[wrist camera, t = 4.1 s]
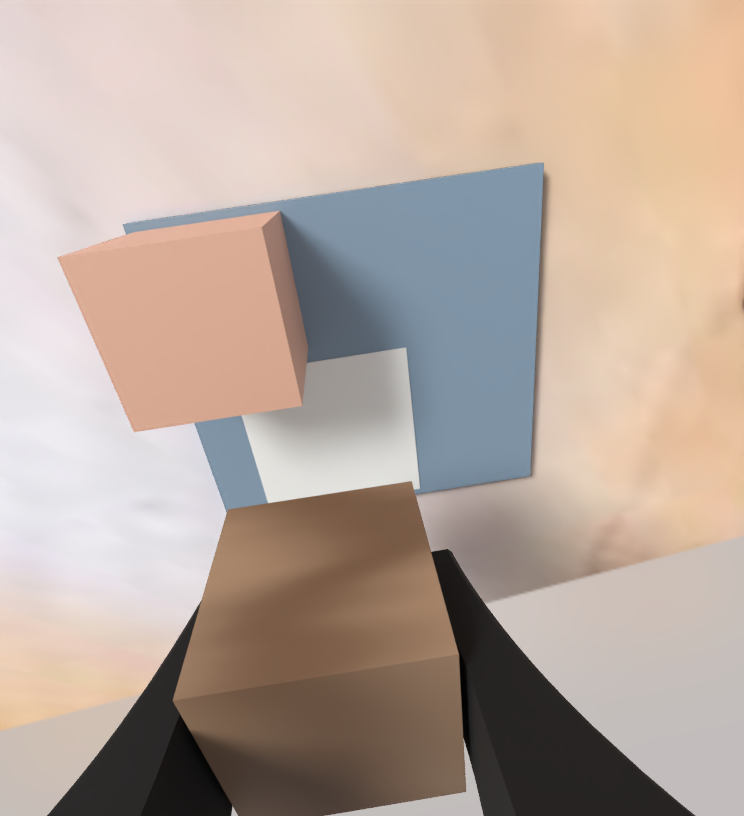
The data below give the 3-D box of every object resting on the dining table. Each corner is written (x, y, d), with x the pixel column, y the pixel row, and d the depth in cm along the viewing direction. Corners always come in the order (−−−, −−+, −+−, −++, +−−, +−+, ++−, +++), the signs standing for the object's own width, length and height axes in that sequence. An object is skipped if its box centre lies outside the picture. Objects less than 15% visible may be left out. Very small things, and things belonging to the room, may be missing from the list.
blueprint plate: (537, 162, 15) (544, 162, 14) (525, 469, 20) (530, 476, 20) (128, 222, 14) (122, 224, 14) (232, 515, 20) (230, 524, 19)
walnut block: (411, 481, 11) (458, 654, 7) (424, 604, 13) (466, 791, 9) (227, 509, 11) (172, 701, 7) (270, 629, 13) (246, 828, 9)
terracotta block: (279, 210, 14) (261, 227, 10) (308, 347, 16) (302, 406, 12) (134, 232, 14) (57, 257, 10) (181, 367, 16) (133, 432, 12)
